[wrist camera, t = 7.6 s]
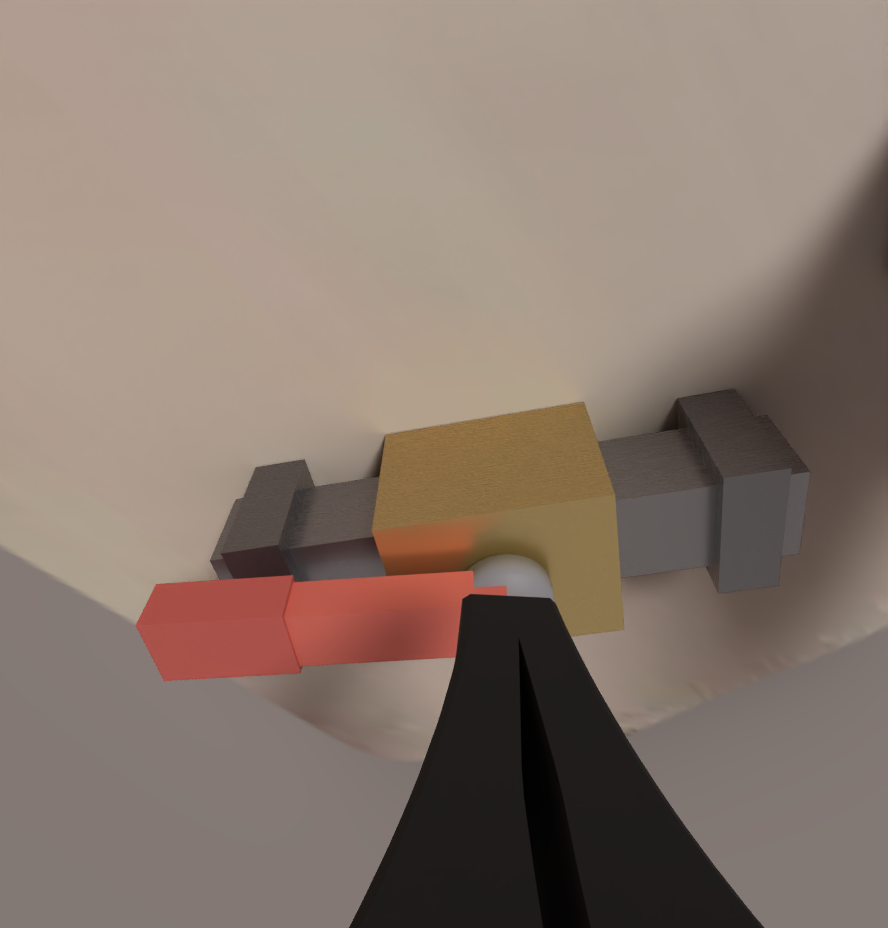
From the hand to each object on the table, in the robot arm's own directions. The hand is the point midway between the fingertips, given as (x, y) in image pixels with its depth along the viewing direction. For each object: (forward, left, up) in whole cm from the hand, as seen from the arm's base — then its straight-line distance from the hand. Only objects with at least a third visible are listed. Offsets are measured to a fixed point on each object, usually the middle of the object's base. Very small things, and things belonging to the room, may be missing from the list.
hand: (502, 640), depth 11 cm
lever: (+4, +4, -6) cm, 8 cm away
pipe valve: (0, +5, -10) cm, 11 cm away
